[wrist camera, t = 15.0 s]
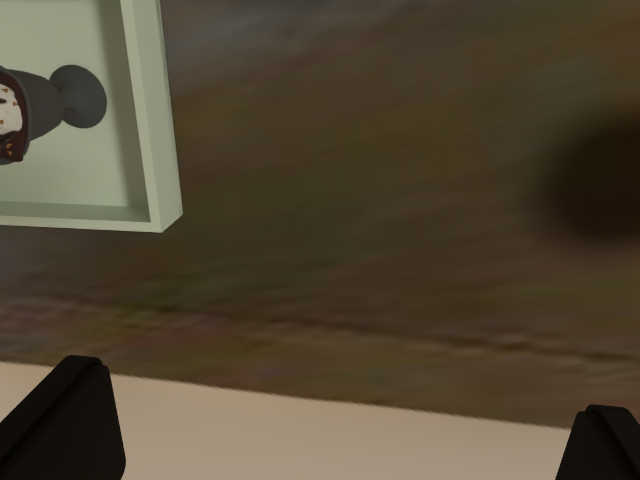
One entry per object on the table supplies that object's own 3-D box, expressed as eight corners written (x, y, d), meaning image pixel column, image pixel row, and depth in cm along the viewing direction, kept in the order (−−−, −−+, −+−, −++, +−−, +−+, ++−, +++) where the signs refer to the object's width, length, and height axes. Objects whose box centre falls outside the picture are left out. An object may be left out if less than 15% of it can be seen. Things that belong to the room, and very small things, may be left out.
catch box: (-66, -15, 35) (-124, -25, 31) (157, -15, 34) (128, -25, 29) (-6, 205, 42) (-46, 222, 38) (182, 214, 40) (161, 232, 36)
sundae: (38, 41, 35) (-174, 32, 21) (121, 67, 35) (-36, 75, 22) (35, 124, 38) (-156, 164, 24) (113, 148, 38) (-33, 201, 24)
